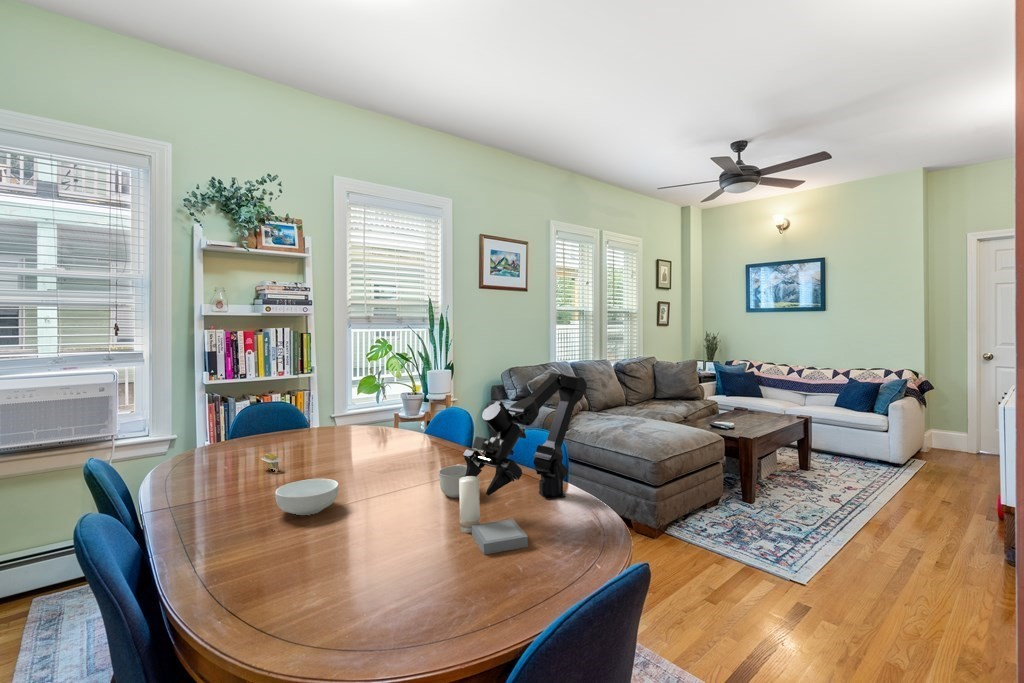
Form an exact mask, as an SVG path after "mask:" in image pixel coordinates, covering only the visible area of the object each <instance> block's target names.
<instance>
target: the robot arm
mask: <svg viewBox="0 0 1024 683" xmlns="http://www.w3.org/2000/svg"><path fill="white" fill-rule="evenodd" d="M587 386H588V384H587V382H586V379H585V378H584V377H582V376H574V375H566V374H564V373H558V372H557V373H556V372H553V373H552V372H551V373H550V374H548V377H547V378H546V379H545V380H544V381H543V382H542V383H541V384H540V385H539V386H538V387H537V388H535V389H534V391H532V393H531V394H529V395H528V396H527V397H526V398H522V399H520V400H519V399H518V400H517V401H516V402H514V403H513V404H511V405H510V407H509V408H506V407H505V405H504V403H503V401H498V400H496V401H495V402H494V403H493V404H491V405H489V406H488V407H486V408H484V410H483V411H482V414H481V415H482V416H481V417H482V419H483V420H484V421H485V423H487V425H488V426H489V427H490V428H491V429H492V431H493V432H495V433H497V435H496V436H495V437H493V436H492V437H491V438H490V439H488V438H485V437H481V436H476V435H475V438H474V441H473V444H472V447H471V448H467V449H465V451H464V452H463V454H462V457H463V458H464V461H465V462H466V465H467V470H466V474H465V477H466V476H475V477H478V476H479V475H480V473H481V472H482V471H483V470H482V469H483V468H485V466H488V467H491V468H495V474H494V477H493V478H492V480H491V481H490V484H489V486H488V488H487V489H486V492H485V495H486V496H488V497H489V496H491V495H493V494H494V493H496V492H497V491H498V490H499V489H501V488H503V487H504V486H507V485H508V484H510V483H512V482H513V483H514V482H515V480H516V481H519V480H520V479H521V477H522V475H523V469H522V468H521V467H520V465H518V464H517V462H516V461H515V460H513V459H511V458H510V459H509V458H508V457H509V456H513V455H514V454H515V451H514V450H513V449H515V448H514V447H515V446H516V444H517V442H518V441H519V439H525V440H526V439H527V434H526V431H525V428H521V427H520V426H519V425H522V426H526V427H527V426H528V427H529V426H532V425H533V423H534V422H535V421H536V419H537V418H538V416H539V414H540V409H541V408H542V407H543V406H544V405H545V404H546V403H547V402H548V401H549V400H550V399H551V398H552V396H554V395H555V394H556V393H557V392H558V395H559V402H558V406H557V408H556V411H555V414H554V417H553V421H552V424H551V426H550V430H549V432H548V435H547V437H546V441H545V442H544V443H543V444H538V445H537V447H536V451H535V453H534V454H533V465H534V469H535V472H536V475H539V476H540V480H539V484H538V485H539V487H538V488H539V491H538V494H540V495H541V496H542V497H543V498H544V499H545V500H552V499H560V498H566V494H565V493H564V480H565V478H567V477H568V473H569V469H568V468H567V467H566V466H565V465H564V463H563V460H564V454H563V449H562V445H563V442H564V440H565V436H566V433H567V430H568V427H569V425H570V420H571V419H572V415H573V412H574V410H575V406H576V405H577V403H579V402H580V401H581V400H582V399H583V397H584V396H585V393H586V391H587ZM476 449H477V450H476ZM479 451H480V452H479Z"/></svg>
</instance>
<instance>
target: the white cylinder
mask: <svg viewBox="0 0 1024 683" xmlns="http://www.w3.org/2000/svg"><path fill="white" fill-rule="evenodd" d="M458 498H459V530H460V532H461V533H467V534H469V533H471V534H472V525H476V524H481V517H480V516H481V515H480V514H481V512H480V511H481V510H480V509H481V508H480V507H481V506H480V504H481V503H480V478H479V477H478V476H477V477H475V476H466V477H462V478H460V479H459V497H458Z"/></svg>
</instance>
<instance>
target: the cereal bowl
mask: <svg viewBox="0 0 1024 683" xmlns="http://www.w3.org/2000/svg"><path fill="white" fill-rule="evenodd" d="M339 486H340V485H339V482H338V481H336V480H334V479H330V478H310V479H309V478H308V479H302V480H297V481H293V482H289V483H287V484H284V485H281V486H280V487H278V488H277V489H275V495H274V496H275V501H276V502H275V503H276V505H277V506H278V508H279V509H280V510H281V511H282V512H286V513H287V514H288V513H289V514H293V515H294V514H296V515H308V516H311V515H310V514H313V515H315V513H316V514H318V513H320V512H322V511H323V510H324V509H326V508H328V507H329V506H332V504H333V503H335V501H336V500H337V497H338V495H339ZM296 515H295V516H296Z"/></svg>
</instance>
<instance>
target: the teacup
mask: <svg viewBox="0 0 1024 683" xmlns="http://www.w3.org/2000/svg"><path fill="white" fill-rule="evenodd" d="M466 470H467V464H466V465H464V464H461V463H457V464H456V465H455V464H454V465H449V466H445V467H442V468H441V469H439V470H438V473H437V474H438V476H439V477H438V478H439V479H438V480H439V487H440V490H441V492H442V494H444V495H446V497H448V498H453V499H455V498H457V499H458V498H459V479H460V478H462V477H465V474H466Z"/></svg>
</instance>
